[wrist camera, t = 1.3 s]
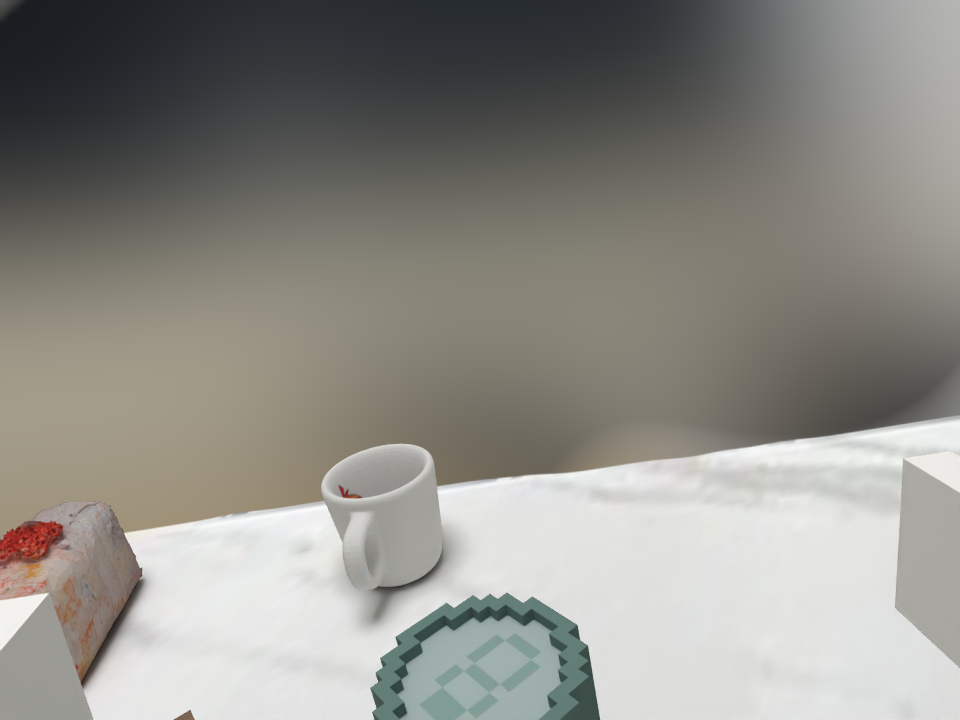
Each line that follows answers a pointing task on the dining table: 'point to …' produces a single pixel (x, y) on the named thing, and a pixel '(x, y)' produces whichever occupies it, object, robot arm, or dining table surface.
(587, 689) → the can
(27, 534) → the food item
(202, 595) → the dining table surface
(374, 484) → the cup
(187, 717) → the holder
